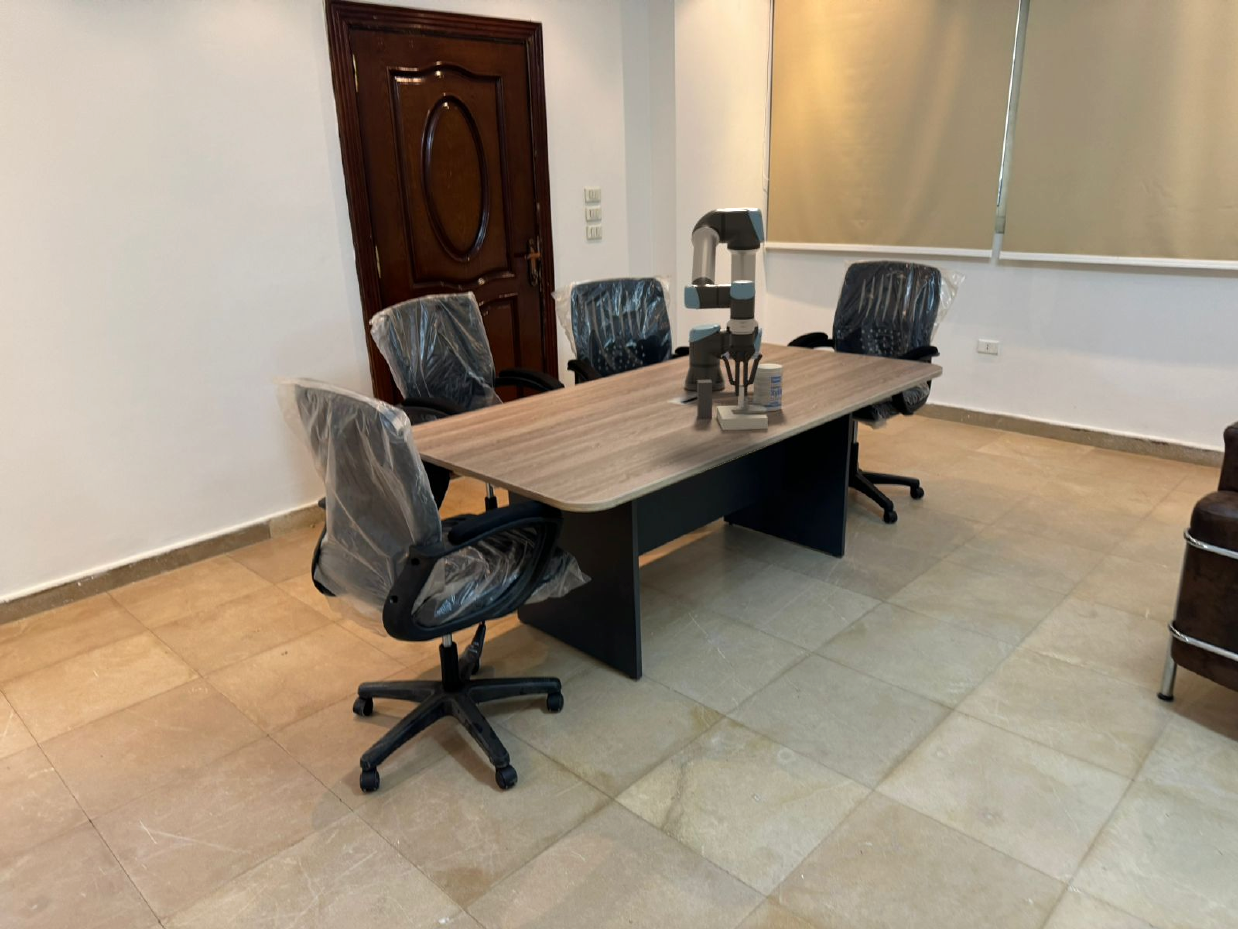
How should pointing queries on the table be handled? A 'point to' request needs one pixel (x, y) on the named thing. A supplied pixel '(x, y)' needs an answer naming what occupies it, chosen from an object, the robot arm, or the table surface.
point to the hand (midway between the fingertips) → (740, 405)
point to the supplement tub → (768, 386)
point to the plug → (704, 399)
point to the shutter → (753, 408)
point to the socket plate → (740, 419)
